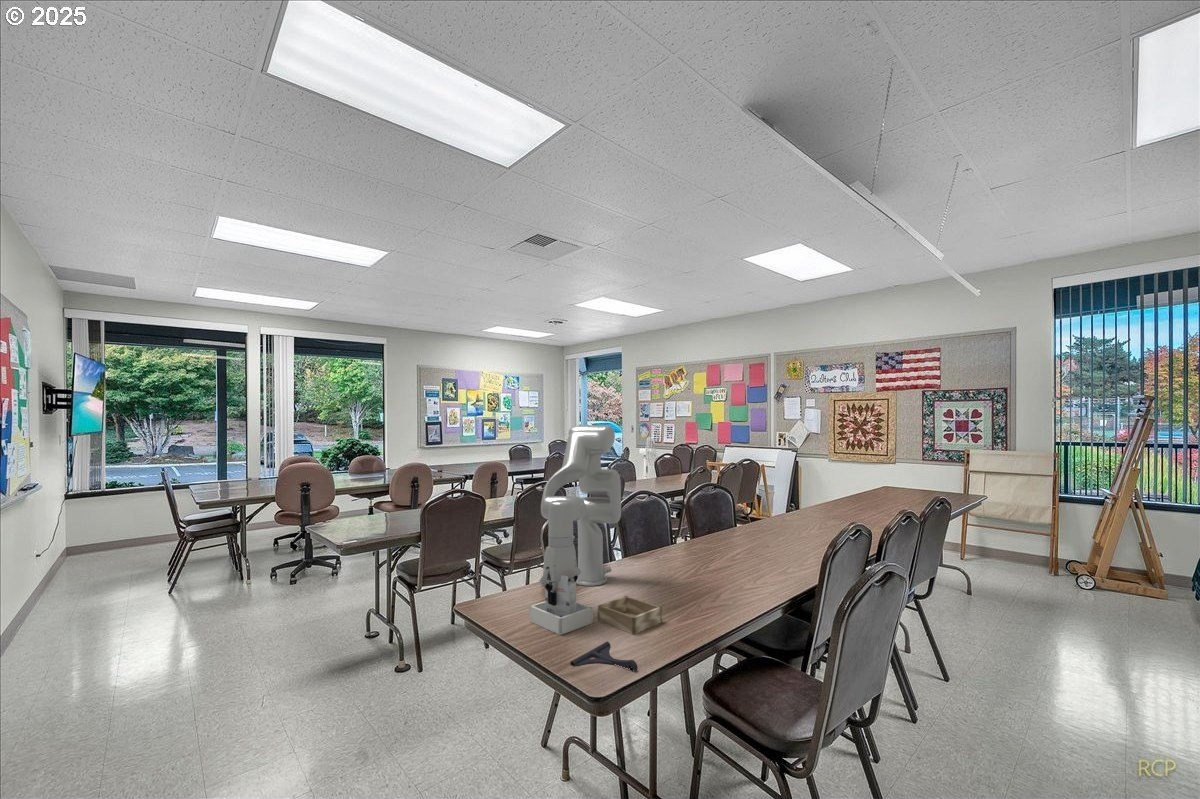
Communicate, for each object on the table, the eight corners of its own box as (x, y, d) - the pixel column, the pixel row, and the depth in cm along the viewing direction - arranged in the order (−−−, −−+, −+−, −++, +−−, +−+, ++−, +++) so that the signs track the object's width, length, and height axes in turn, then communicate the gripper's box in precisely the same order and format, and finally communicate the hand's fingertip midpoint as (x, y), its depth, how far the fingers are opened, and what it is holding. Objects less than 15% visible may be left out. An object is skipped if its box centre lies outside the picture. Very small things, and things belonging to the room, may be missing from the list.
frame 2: (626, 610, 163) (626, 595, 163) (662, 622, 152) (661, 607, 152) (598, 620, 154) (598, 605, 154) (634, 634, 143) (633, 618, 144)
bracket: (618, 686, 116) (618, 673, 116) (570, 667, 126) (570, 655, 126) (652, 663, 128) (652, 652, 128) (605, 647, 137) (605, 636, 137)
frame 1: (561, 610, 162) (561, 596, 163) (592, 622, 152) (592, 607, 152) (529, 621, 154) (529, 606, 154) (560, 635, 143) (560, 618, 143)
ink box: (577, 621, 153) (577, 572, 154) (568, 627, 149) (568, 576, 150) (553, 616, 157) (553, 568, 158) (544, 622, 153) (544, 572, 154)
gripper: (573, 535, 163) (574, 592, 162) (530, 544, 151) (530, 605, 150) (589, 538, 158) (590, 597, 157) (546, 548, 145) (546, 612, 145)
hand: (560, 601), depth 153 cm, fingers closed on ink box, 6 cm apart
